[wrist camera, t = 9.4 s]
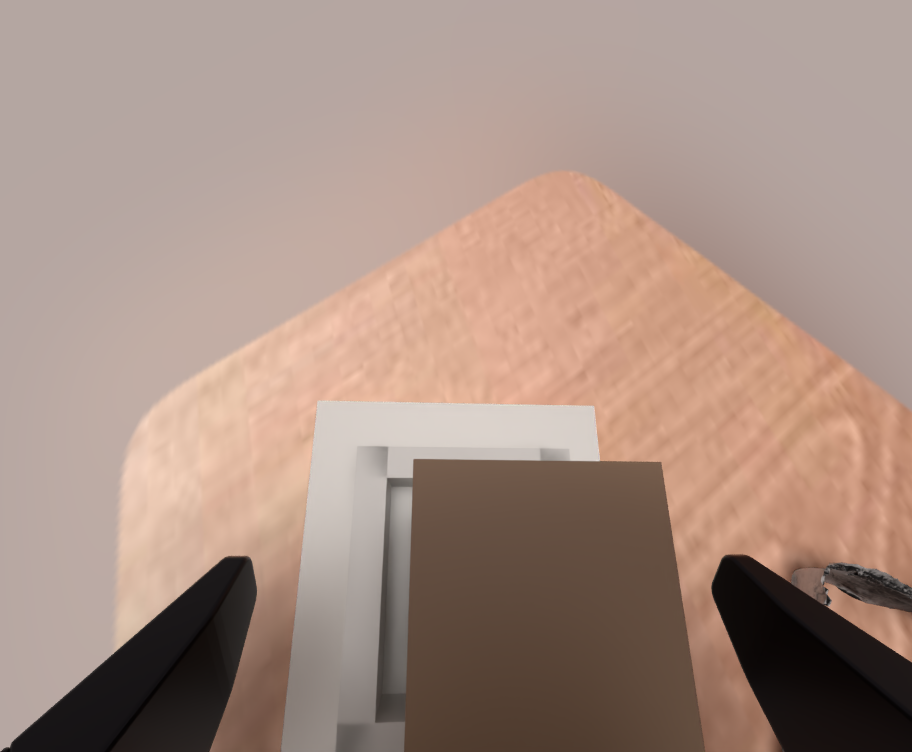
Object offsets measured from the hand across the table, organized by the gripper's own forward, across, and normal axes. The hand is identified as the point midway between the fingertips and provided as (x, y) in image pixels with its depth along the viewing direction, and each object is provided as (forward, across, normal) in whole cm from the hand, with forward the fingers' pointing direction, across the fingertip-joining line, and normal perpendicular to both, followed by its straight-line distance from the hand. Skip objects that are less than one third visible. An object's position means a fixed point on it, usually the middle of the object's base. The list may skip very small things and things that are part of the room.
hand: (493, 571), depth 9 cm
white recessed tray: (+6, 0, +7) cm, 9 cm away
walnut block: (+5, 0, +6) cm, 8 cm away
